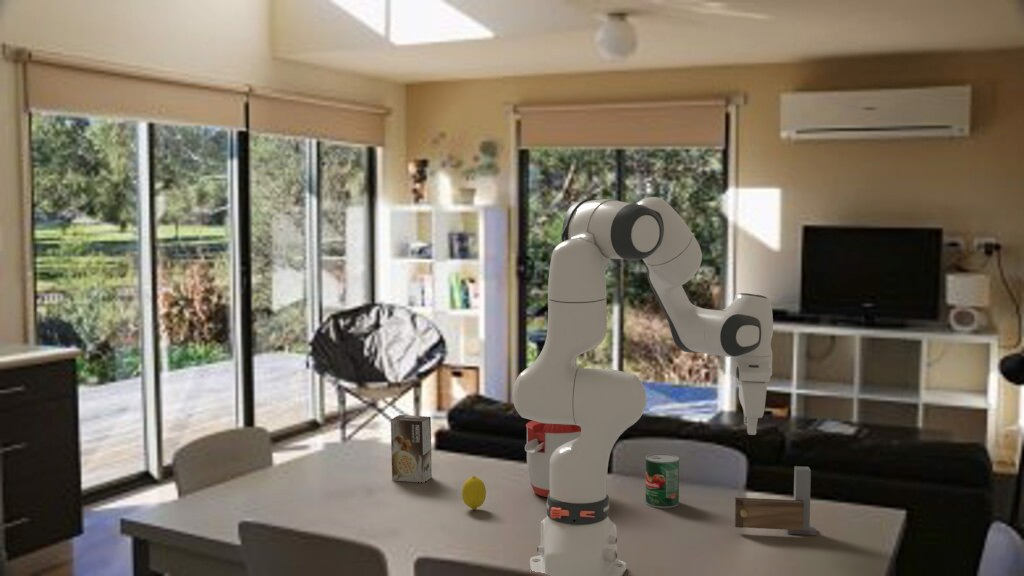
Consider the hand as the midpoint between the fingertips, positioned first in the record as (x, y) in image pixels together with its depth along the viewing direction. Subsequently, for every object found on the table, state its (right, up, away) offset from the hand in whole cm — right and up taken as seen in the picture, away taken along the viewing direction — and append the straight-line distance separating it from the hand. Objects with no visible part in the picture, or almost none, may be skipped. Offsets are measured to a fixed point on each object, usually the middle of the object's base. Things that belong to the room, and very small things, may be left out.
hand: (749, 429), depth 212 cm
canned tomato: (-17, -20, +17) cm, 31 cm away
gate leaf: (+2, -20, -6) cm, 21 cm away
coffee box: (-78, -19, +38) cm, 89 cm away
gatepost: (+10, -21, -3) cm, 24 cm away
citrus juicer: (-42, -20, +25) cm, 52 cm away
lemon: (-61, -21, +12) cm, 66 cm away
